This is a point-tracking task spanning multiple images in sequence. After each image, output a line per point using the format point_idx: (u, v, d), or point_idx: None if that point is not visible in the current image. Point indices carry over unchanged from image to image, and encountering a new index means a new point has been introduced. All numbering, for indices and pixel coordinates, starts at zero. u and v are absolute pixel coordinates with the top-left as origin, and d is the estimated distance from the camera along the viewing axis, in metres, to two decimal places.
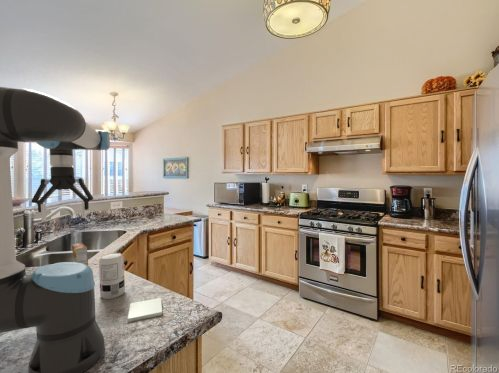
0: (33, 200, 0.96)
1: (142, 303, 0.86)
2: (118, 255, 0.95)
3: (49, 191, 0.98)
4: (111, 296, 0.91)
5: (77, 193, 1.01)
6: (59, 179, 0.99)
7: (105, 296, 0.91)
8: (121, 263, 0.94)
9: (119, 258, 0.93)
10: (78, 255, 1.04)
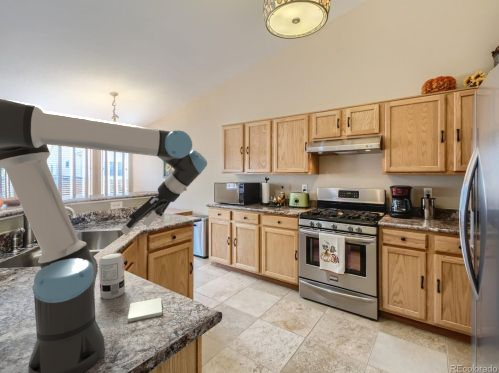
0: None
1: (142, 303, 0.86)
2: (118, 255, 0.95)
3: None
4: (111, 296, 0.91)
5: None
6: None
7: (105, 296, 0.91)
8: (121, 263, 0.94)
9: (119, 258, 0.93)
10: None
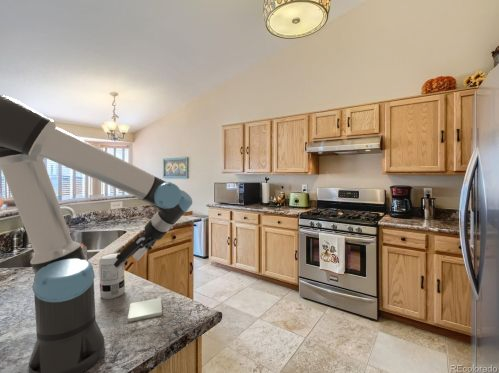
0: None
1: (142, 303, 0.86)
2: None
3: None
4: (111, 296, 0.91)
5: None
6: None
7: (105, 296, 0.91)
8: None
9: None
10: None
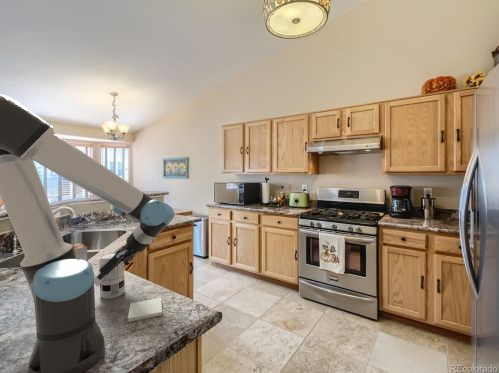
0: None
1: (142, 303, 0.86)
2: None
3: None
4: (111, 296, 0.91)
5: None
6: None
7: (105, 296, 0.91)
8: (121, 263, 0.94)
9: None
10: (78, 255, 1.04)
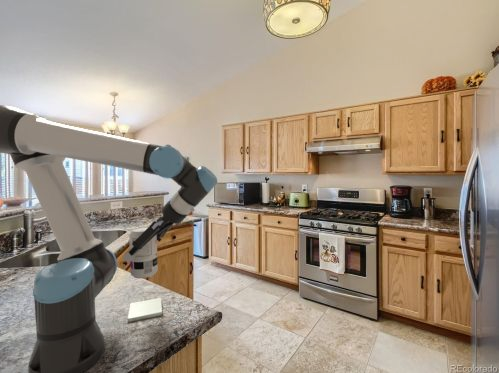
0: None
1: (142, 303, 0.86)
2: None
3: None
4: (144, 275, 0.79)
5: None
6: None
7: (137, 275, 0.79)
8: (154, 238, 0.82)
9: None
10: None
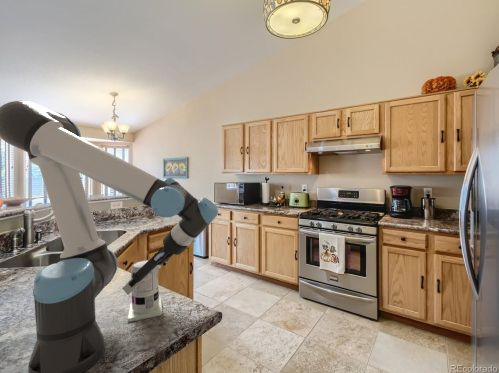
0: None
1: None
2: None
3: None
4: (145, 310, 0.79)
5: None
6: None
7: (139, 310, 0.79)
8: (156, 272, 0.82)
9: None
10: None
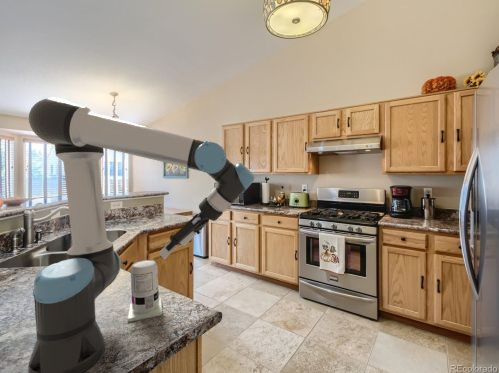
0: None
1: None
2: (152, 263, 0.83)
3: None
4: (145, 310, 0.79)
5: None
6: None
7: (139, 310, 0.79)
8: (156, 272, 0.82)
9: (153, 266, 0.82)
10: None
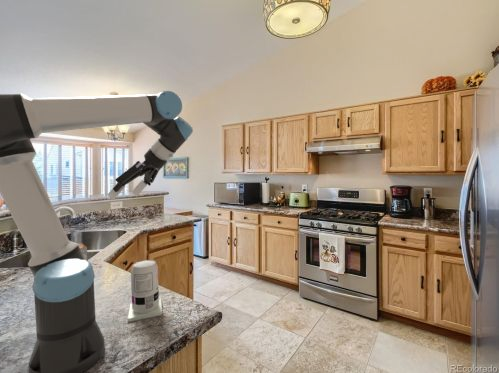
0: None
1: None
2: (152, 263, 0.83)
3: None
4: (145, 310, 0.79)
5: None
6: None
7: (139, 310, 0.79)
8: (156, 272, 0.82)
9: (154, 266, 0.81)
10: None
